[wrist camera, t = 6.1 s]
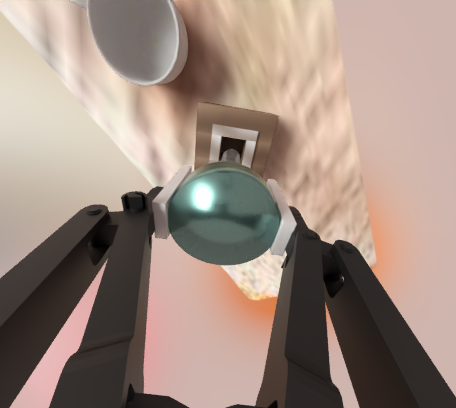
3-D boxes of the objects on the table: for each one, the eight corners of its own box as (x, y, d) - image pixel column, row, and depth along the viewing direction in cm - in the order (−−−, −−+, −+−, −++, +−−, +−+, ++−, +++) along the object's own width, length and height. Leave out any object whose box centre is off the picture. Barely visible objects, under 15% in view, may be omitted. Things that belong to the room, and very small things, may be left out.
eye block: (204, 102, 30) (197, 102, 25) (271, 113, 31) (279, 116, 25) (200, 167, 37) (193, 179, 31) (256, 176, 37) (259, 189, 31)
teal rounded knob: (204, 177, 26) (168, 257, 13) (208, 126, 22) (164, 165, 9) (250, 184, 26) (263, 271, 13) (262, 135, 22) (296, 186, 9)
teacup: (207, 37, 26) (196, 15, 19) (173, 103, 31) (154, 104, 24) (117, -50, 22) (64, -117, 15) (94, 40, 27) (45, 20, 20)
